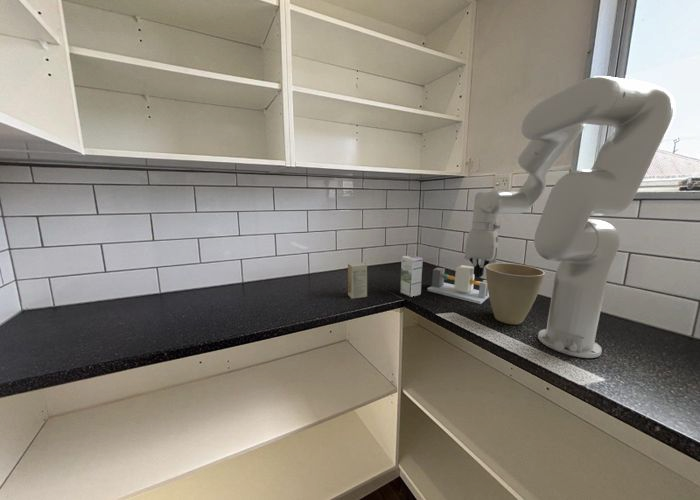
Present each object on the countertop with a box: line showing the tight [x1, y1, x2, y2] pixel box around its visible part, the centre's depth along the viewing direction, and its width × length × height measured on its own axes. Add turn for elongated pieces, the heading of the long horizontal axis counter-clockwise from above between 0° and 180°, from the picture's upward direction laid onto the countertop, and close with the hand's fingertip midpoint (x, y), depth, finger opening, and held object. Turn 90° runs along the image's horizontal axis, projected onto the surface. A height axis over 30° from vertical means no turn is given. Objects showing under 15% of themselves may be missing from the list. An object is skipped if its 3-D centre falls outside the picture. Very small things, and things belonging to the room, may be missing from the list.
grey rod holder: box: [426, 267, 489, 305], centre depth 105 cm, size 12×22×8 cm, turn 48°
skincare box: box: [347, 262, 368, 300], centre depth 101 cm, size 6×4×12 cm
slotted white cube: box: [453, 264, 475, 293], centre depth 104 cm, size 6×5×8 cm
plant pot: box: [485, 262, 546, 325], centre depth 82 cm, size 15×15×16 cm
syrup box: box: [399, 254, 424, 298], centre depth 103 cm, size 6×6×14 cm
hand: (477, 276), depth 101 cm, fingers closed
